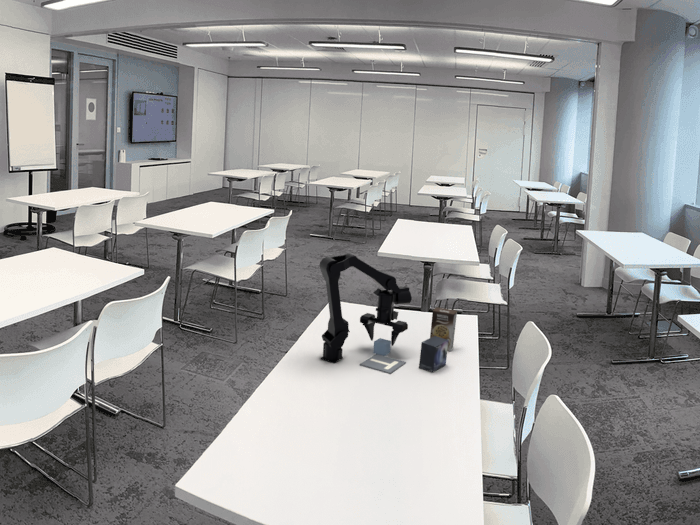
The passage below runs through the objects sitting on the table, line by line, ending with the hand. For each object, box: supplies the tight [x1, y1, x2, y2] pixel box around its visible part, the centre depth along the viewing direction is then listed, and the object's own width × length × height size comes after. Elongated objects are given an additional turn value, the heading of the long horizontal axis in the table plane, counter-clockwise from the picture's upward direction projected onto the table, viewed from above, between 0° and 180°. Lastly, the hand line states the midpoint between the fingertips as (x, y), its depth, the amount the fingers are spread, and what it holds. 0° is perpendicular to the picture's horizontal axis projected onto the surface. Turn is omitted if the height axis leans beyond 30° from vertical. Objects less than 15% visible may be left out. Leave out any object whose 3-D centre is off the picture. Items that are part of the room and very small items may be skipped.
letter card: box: [359, 354, 407, 375], centre depth 220 cm, size 13×13×1 cm
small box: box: [418, 336, 449, 373], centre depth 220 cm, size 11×6×10 cm, turn 143°
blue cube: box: [372, 337, 392, 356], centre depth 231 cm, size 5×5×5 cm
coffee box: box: [429, 306, 458, 352], centre depth 240 cm, size 9×6×16 cm
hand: (382, 343), depth 231 cm, fingers open, 9 cm apart
